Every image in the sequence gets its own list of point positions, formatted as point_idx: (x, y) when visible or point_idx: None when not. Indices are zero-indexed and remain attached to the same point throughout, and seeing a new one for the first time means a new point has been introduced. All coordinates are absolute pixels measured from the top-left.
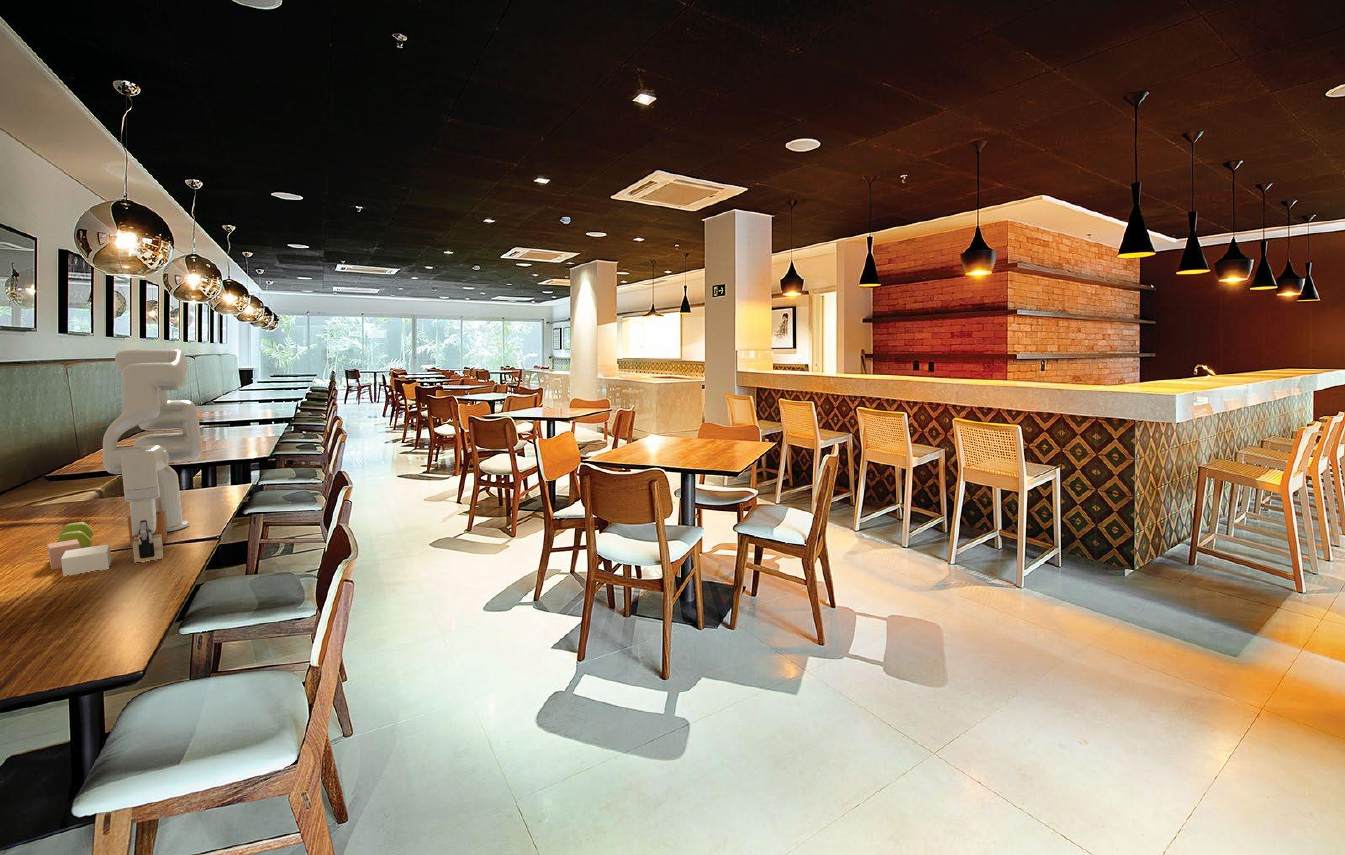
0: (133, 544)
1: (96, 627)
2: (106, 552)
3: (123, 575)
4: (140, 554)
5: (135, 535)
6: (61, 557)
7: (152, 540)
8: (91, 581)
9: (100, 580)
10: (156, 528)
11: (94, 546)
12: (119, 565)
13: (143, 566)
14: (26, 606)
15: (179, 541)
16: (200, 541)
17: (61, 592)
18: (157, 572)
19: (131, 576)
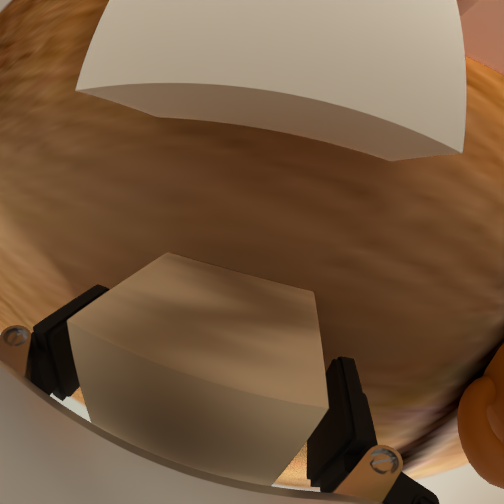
0: (80, 318)
1: None
2: (78, 88)
3: (23, 181)
4: (83, 298)
5: (61, 407)
6: None
7: (94, 421)
8: (36, 80)
9: (25, 109)
10: (474, 468)
11: (460, 36)
12: (194, 174)
13: (84, 269)
14: (9, 11)
15: (431, 443)
16: None
17: (21, 35)
18: (10, 277)
19: (7, 205)
